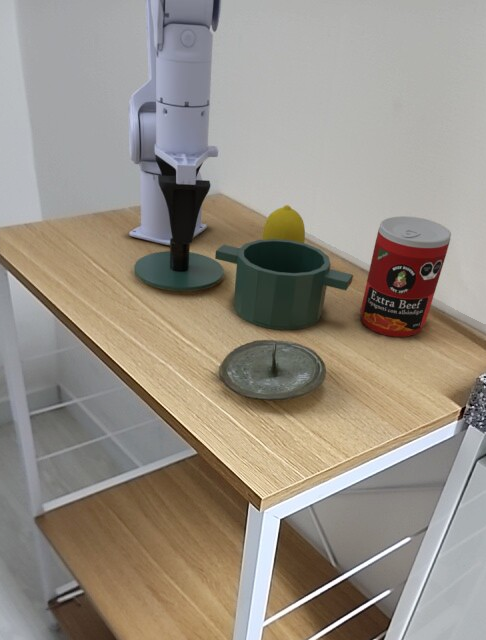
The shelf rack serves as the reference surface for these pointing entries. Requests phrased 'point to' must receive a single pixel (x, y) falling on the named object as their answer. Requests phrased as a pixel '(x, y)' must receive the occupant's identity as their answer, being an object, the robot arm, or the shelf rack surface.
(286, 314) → the pot
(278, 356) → the metal candle holder
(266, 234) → the lemon
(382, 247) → the canned food
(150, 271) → the pot lid
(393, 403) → the shelf rack surface
